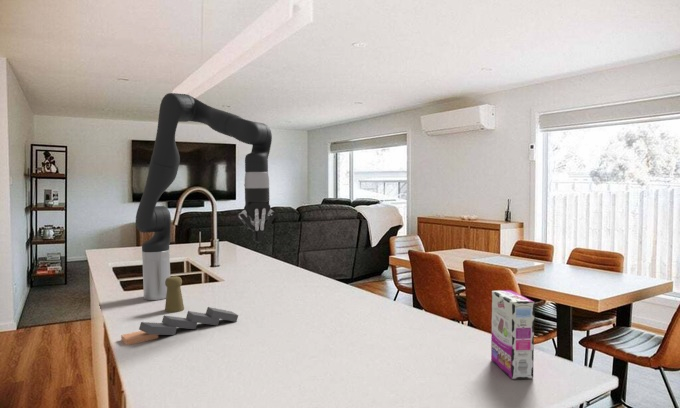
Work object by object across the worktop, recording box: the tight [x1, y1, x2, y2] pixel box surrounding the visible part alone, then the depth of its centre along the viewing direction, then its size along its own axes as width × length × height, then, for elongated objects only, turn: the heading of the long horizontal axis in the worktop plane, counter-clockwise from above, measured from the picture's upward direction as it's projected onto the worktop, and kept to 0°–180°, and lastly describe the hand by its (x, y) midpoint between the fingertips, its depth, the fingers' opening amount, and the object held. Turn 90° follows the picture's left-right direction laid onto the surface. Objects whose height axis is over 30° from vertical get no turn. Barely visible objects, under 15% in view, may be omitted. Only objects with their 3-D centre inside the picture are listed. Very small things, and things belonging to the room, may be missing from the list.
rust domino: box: [120, 330, 159, 346], centre depth 125 cm, size 5×2×8 cm
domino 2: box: [161, 314, 198, 330], centre depth 132 cm, size 5×2×8 cm
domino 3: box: [185, 310, 220, 326], centre depth 136 cm, size 5×2×8 cm
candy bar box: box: [490, 289, 535, 380], centre depth 102 cm, size 11×5×16 cm, turn 5°
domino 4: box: [205, 306, 239, 323], centre depth 139 cm, size 5×2×8 cm
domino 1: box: [138, 321, 178, 336], centre depth 126 cm, size 5×2×8 cm
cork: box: [164, 275, 185, 314], centre depth 153 cm, size 6×6×11 cm
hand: (258, 242), depth 146 cm, fingers closed
